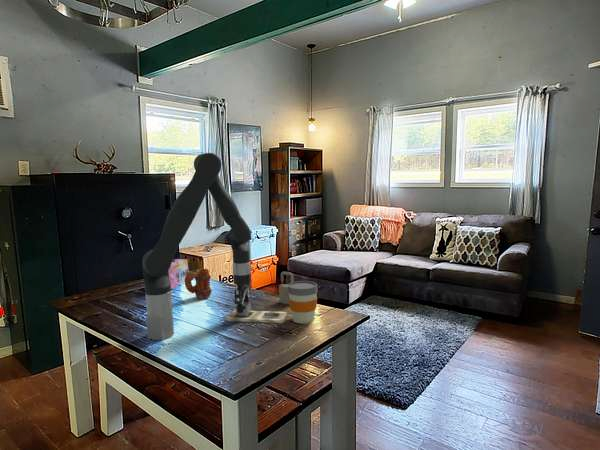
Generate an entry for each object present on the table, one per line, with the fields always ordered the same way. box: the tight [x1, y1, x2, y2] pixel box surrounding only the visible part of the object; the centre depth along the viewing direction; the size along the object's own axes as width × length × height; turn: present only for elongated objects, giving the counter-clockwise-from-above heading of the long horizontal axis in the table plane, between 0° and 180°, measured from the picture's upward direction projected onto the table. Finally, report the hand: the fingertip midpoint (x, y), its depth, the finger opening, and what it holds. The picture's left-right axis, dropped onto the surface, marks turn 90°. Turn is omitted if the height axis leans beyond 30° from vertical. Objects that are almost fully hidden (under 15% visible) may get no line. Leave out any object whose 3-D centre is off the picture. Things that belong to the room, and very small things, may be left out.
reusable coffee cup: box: [287, 280, 318, 324], centre depth 158 cm, size 13×13×15 cm
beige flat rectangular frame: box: [225, 309, 288, 324], centre depth 162 cm, size 24×10×1 cm, turn 80°
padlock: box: [278, 271, 295, 305], centre depth 181 cm, size 4×8×15 cm, turn 53°
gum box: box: [168, 257, 190, 289], centre depth 216 cm, size 24×8×14 cm, turn 168°
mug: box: [184, 268, 213, 299], centre depth 190 cm, size 15×8×15 cm, turn 141°
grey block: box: [235, 301, 252, 318], centre depth 163 cm, size 5×5×6 cm
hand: (243, 309), depth 163 cm, fingers open, 8 cm apart
